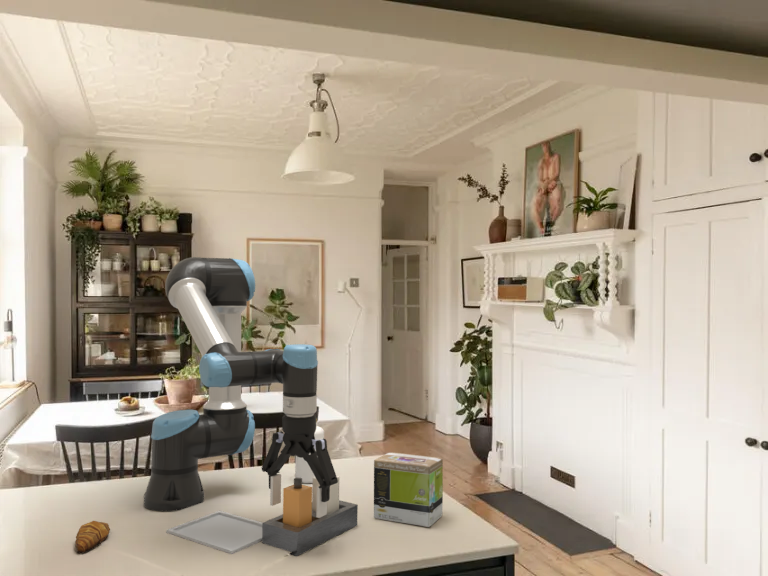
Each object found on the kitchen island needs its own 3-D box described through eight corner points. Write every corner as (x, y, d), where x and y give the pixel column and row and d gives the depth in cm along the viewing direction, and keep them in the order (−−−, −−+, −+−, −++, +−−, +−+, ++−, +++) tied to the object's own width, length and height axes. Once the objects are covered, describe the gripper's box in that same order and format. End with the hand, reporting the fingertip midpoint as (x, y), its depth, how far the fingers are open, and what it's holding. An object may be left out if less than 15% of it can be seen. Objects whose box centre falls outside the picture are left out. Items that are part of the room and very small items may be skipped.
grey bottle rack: (262, 545, 141) (262, 522, 141) (324, 517, 159) (324, 496, 159) (296, 556, 135) (297, 532, 136) (357, 525, 154) (357, 504, 154)
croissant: (89, 532, 148) (90, 510, 148) (119, 532, 148) (120, 510, 148) (63, 556, 135) (63, 532, 135) (95, 556, 135) (96, 532, 135)
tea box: (443, 516, 162) (444, 457, 162) (429, 529, 152) (429, 466, 153) (388, 506, 168) (389, 450, 168) (372, 518, 159) (373, 458, 159)
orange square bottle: (282, 533, 143) (283, 479, 143) (296, 527, 146) (296, 474, 146) (298, 538, 140) (299, 482, 140) (311, 531, 144) (312, 478, 144)
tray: (166, 535, 146) (166, 529, 146) (219, 515, 160) (219, 510, 160) (231, 556, 135) (231, 551, 135) (283, 533, 148) (283, 528, 148)
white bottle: (318, 485, 185) (319, 422, 186) (291, 483, 187) (292, 421, 187) (326, 477, 194) (327, 417, 194) (300, 475, 195) (301, 416, 195)
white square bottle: (311, 520, 151) (312, 469, 151) (323, 515, 155) (324, 465, 155) (327, 524, 149) (327, 472, 149) (338, 518, 152) (339, 468, 152)
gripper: (247, 410, 147) (245, 503, 147) (333, 423, 134) (331, 526, 133) (269, 405, 153) (268, 495, 153) (354, 418, 140) (353, 516, 140)
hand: (298, 509), depth 143 cm, fingers open, 13 cm apart
